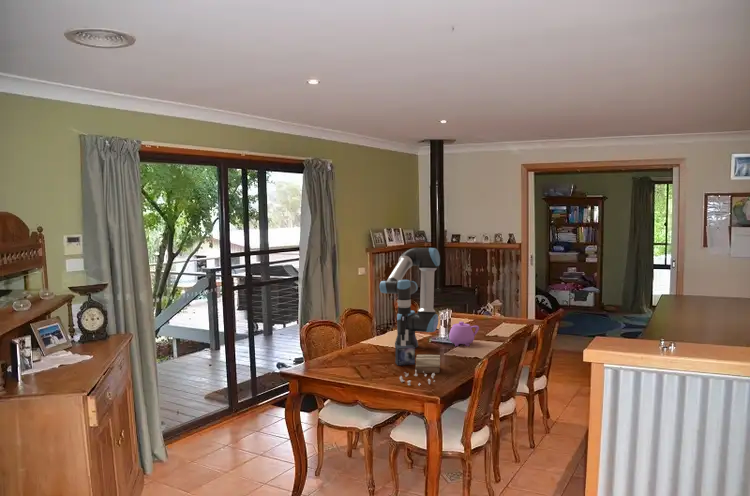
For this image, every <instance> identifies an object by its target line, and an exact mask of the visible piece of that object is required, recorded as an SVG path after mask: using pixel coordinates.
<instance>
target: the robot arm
mask: <svg viewBox="0 0 750 496" xmlns="http://www.w3.org/2000/svg"><path fill="white" fill-rule="evenodd" d="M440 264H441V255H440V252H439V250H438V249H437V248H436V247H411V248H410V249H408V250H406V251H404V252H403V253H402V254H400V256H399V258H398V262H397V263H396V265H395V267H394V268H393V270H392V271H391V273H390V275H389V276H388V278H387V279H386V280H381V281H380V283H379V292H380V293H381V294H390V295H391V294H393V295H394V294H395V295H396V294H397V300H396V303H397V314H396V326H397V327H396V330H397V331H396V332H397V333H396V334H397V335H396V338H395V342H394V347H395V346H400V345H401V346H406V345H413V346H414V347H415V349H417V348H418V347H419V341H418V339H417V337H416V332H420V333H421V332H422V333H434V332H436V330H437V328H438V325H439V319H440V318H439V315H438V314H437V312H436V310H435V309H434V301H435V299H434V298H435V297H434V294H435V271H436V270H437V269H438V267H439V266H440ZM413 266H416V267H417V266H418V269H419V270H420V297H419V298H420V299H419V300H420V301H419V309H418V310H417V312H416V311H415V310H412V307H411V306H412V300H411V299H412V298H411V297H412V296H411V295H413V294H415V293H416V292H417V291H418V289H419V287H418V284H417V282H416V281H414V280H409V279H403V278H404V277H405V275H406V273H407V271H408V270H409V269H410V268H412V267H413Z"/></svg>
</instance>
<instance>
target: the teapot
mask: <svg viewBox="0 0 750 496" xmlns="http://www.w3.org/2000/svg"><path fill="white" fill-rule="evenodd" d="M474 328H475V331H473V329H474ZM479 330H480V326H479V325H471V324H470V323H465V322H464V321H458V323H454V324H452V327H451V328H450V330H449V334H448V340H449V341H450V342H451V344H455V346H454V347H459V345H464V346H465V347H470V346H471V345H470V344H473V342H474V340H475V336H476V335H477V334H478V332H479Z"/></svg>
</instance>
